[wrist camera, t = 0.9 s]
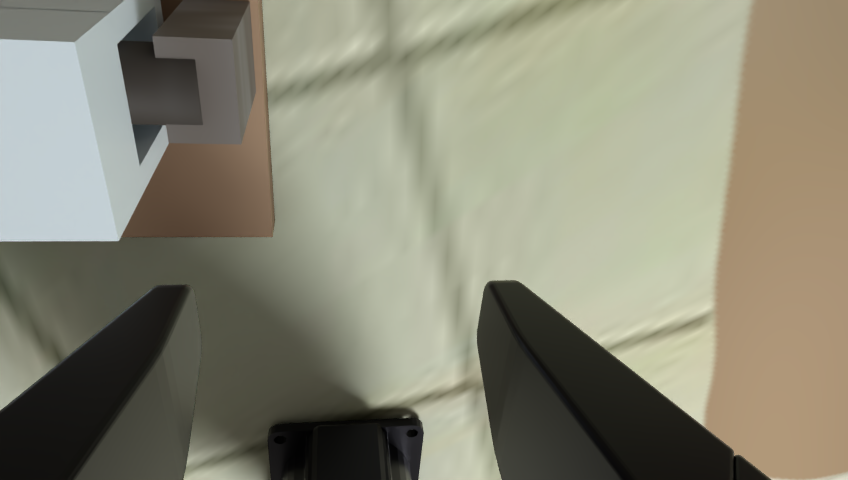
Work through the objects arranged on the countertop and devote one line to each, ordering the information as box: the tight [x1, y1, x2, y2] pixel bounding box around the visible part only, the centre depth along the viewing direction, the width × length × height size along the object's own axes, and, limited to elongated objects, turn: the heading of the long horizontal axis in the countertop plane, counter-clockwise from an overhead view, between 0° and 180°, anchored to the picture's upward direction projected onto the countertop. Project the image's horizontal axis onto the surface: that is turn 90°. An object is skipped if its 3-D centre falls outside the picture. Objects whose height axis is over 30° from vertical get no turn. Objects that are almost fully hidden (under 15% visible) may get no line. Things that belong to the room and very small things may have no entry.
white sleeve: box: [0, 0, 169, 241], centre depth 13 cm, size 4×4×6 cm
